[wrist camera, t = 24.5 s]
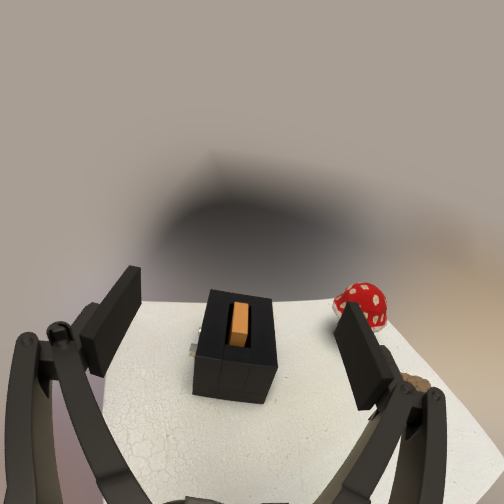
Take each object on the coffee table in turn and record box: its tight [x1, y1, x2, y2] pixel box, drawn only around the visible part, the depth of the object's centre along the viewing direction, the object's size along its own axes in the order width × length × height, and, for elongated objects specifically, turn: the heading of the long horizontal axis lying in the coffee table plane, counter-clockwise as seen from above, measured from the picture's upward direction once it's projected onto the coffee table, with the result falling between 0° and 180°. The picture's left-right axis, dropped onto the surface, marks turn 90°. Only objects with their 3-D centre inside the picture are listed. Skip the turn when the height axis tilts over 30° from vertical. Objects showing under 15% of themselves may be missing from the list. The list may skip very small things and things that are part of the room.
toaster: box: [189, 289, 278, 404], centre depth 48 cm, size 13×18×10 cm
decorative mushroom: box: [332, 282, 387, 332], centre depth 59 cm, size 14×14×15 cm
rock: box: [400, 372, 431, 392], centre depth 41 cm, size 13×11×5 cm
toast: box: [227, 302, 248, 347], centre depth 47 cm, size 2×8×8 cm, turn 0°
